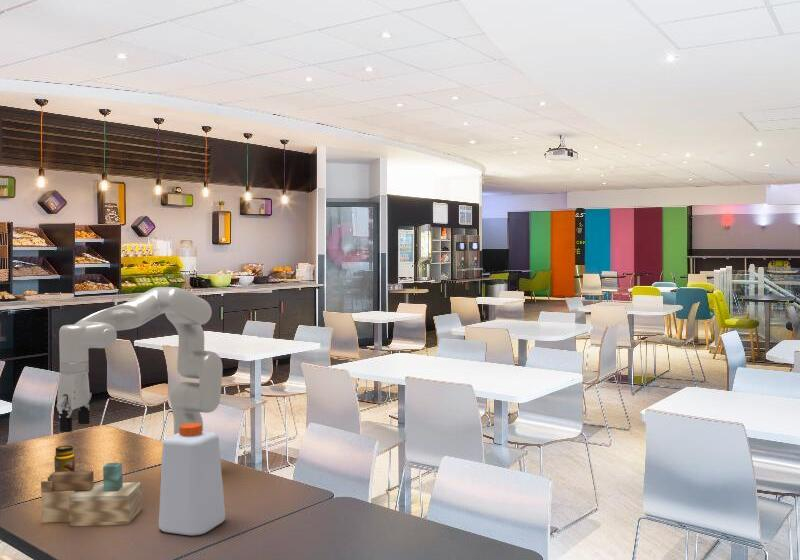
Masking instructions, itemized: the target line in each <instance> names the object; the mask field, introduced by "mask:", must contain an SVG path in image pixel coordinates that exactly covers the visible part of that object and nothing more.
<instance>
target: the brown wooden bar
mask: <svg viewBox="0 0 800 560" xmlns="http://www.w3.org/2000/svg"><path fill="white" fill-rule="evenodd" d="M49 477H50V481H53V491H68V490H90V489H92V488H93V487H94V482H95V481H94V471H93V470H89V471H87V470H85V471H84V470H83V471H82V470H80V471H79V470H78V471H76V470H75V472H55V471H53V472H52V473H51V474H50V475H49Z"/></svg>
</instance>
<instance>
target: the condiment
mask: <svg viewBox="0 0 800 560" xmlns="http://www.w3.org/2000/svg"><path fill="white" fill-rule="evenodd" d="M54 454H55V455H54V472H76V465H75V454H74V446H73V445H61V446H57V447H56V448H55V453H54Z"/></svg>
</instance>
